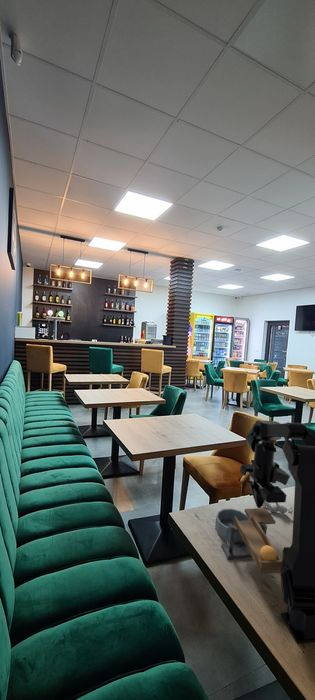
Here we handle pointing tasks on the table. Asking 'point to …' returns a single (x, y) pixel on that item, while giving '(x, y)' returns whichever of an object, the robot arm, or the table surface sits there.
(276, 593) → the table surface
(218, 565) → the table surface
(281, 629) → the table surface
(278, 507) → the soldier figure
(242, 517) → the cup
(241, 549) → the lever stand
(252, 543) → the lever
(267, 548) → the ball
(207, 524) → the table surface
